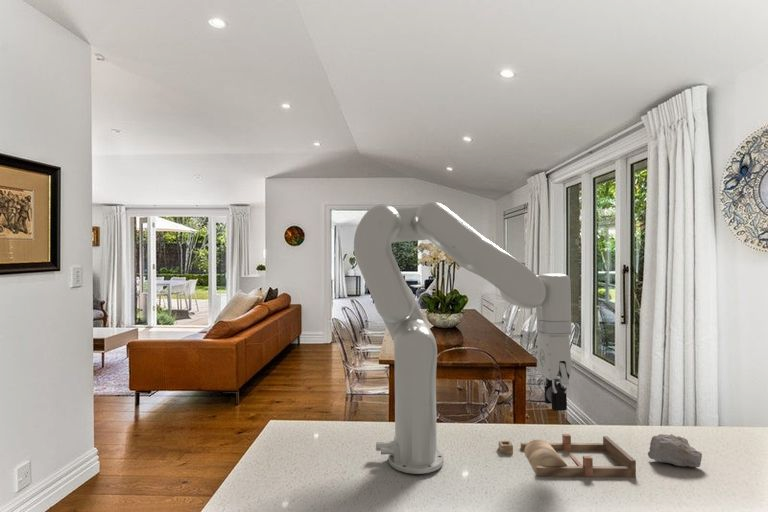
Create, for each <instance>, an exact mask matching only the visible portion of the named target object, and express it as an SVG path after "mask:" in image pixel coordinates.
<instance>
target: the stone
mask: <svg viewBox="0 0 768 512" xmlns="http://www.w3.org/2000/svg"><path fill="white" fill-rule="evenodd" d="M648 449H649V451H648V453H647V456H648V458H649V459H651V460H653V461H656V462H658V463H666V464H667V463H668V464H672V465H674V466H678V467H691V468H700V466H701V464H702V458H703V454H702V452H701V451H699V450H697V449H695V448H694V447H693V446H691V445H690V443H689V441H688V439H687V438H685V437H682V436H675V435H673V434H671V433H670V434H662V433H661V434H657V435H653V436H652V437H651V439H650V444H649V448H648Z"/></svg>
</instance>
